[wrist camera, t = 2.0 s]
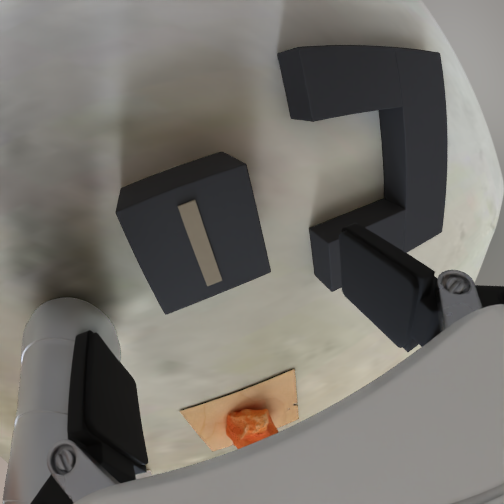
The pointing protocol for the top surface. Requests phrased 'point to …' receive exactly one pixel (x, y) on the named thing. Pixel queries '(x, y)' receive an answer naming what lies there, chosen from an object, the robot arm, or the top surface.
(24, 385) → the plastic bottle
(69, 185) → the top surface
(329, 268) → the dark grey u-shaped block
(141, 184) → the dark grey square block
